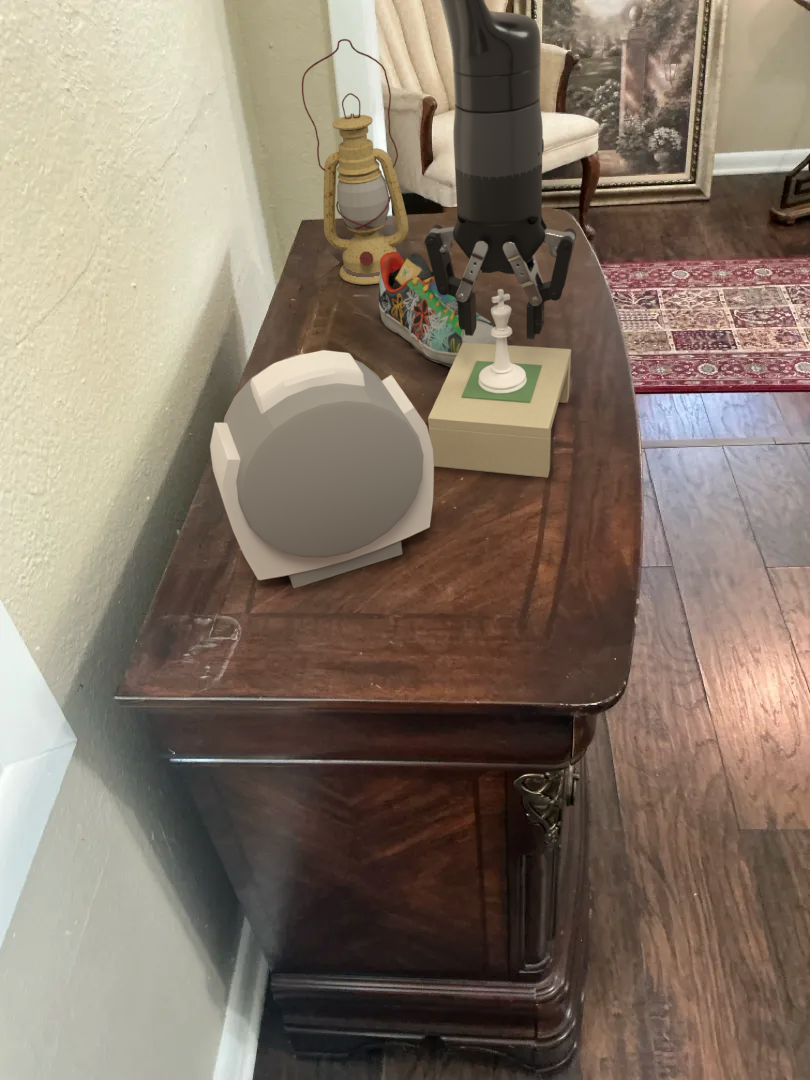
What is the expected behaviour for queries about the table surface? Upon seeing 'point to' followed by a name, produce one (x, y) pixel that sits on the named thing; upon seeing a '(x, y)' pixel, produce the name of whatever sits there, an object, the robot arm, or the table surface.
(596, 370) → the table surface
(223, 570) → the table surface
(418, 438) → the alarm clock
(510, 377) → the chess piece
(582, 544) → the table surface
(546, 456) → the box with green top
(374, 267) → the lantern
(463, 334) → the sneaker
